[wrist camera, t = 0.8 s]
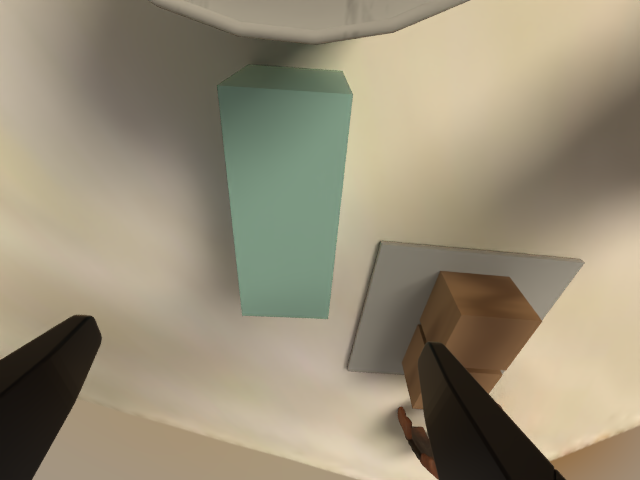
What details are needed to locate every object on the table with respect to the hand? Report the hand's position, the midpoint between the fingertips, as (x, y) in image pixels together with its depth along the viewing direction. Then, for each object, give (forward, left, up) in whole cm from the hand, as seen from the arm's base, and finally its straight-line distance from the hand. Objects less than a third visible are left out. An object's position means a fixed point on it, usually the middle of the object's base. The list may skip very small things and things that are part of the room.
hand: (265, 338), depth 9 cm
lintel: (0, 0, -12) cm, 12 cm away
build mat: (-13, +11, -12) cm, 21 cm away
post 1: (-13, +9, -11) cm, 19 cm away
